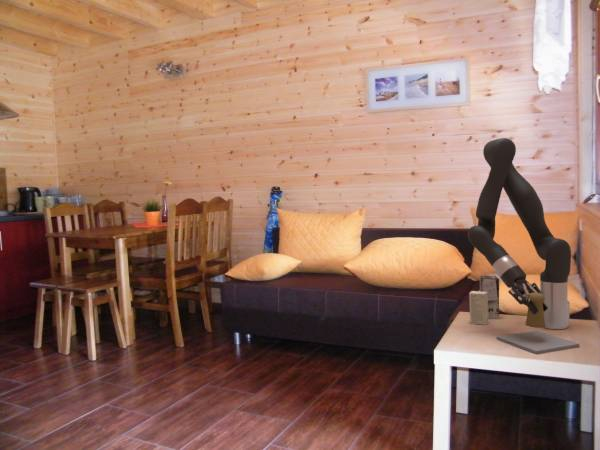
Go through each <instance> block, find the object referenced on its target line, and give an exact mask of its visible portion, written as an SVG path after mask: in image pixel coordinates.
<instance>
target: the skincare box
mask: <svg viewBox="0 0 600 450" xmlns="http://www.w3.org/2000/svg"><path fill="white" fill-rule="evenodd" d="M468 297H469V324H472V325H473V324H474V325H485V326H486V325H487V324H488V323H489V318H488V292H481V291H480V290H477V291H476V290H471V291H470V292H469V293H468Z"/></svg>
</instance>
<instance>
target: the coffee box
mask: <svg viewBox="0 0 600 450" xmlns="http://www.w3.org/2000/svg"><path fill="white" fill-rule="evenodd" d="M479 291H481V292H488V319H494V320H497V319H500V279H499V277H498V276H496V275H479Z"/></svg>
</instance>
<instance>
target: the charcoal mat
mask: <svg viewBox="0 0 600 450" xmlns="http://www.w3.org/2000/svg"><path fill="white" fill-rule="evenodd" d="M495 339H496V340H497V341H500V342H501V343H505V344H508V345H510V346H513V347H516V348H518V349H521V350H524V351H527V352H529V353H531V354H534V355H541V354H546V353H551V352H557V351H563V350H569V349H574V348H580V343H577V342H575V341H572V340H569V339H565V338H562V337H560V336H555V335H553V334H549V333H547V332H543V331H540V330H536V329H535V330H531V331H523V332H517V333H511V334H503V335H497V336H496V337H495Z"/></svg>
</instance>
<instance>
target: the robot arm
mask: <svg viewBox="0 0 600 450" xmlns="http://www.w3.org/2000/svg"><path fill="white" fill-rule="evenodd" d="M516 152H517V147H516V145H515V143H514V141H513V140H512V139H510V138H507V137H501V138H496V139H493V140H490V141H488V142H487V143H486V144H484V146H483V150H482V153H483V157H484V159H485V161H486V164H488V165H489V166H488V167H490V171H489V174H488V177H487V180H486V182H485V183H484V185H483V188H482V189H481V192H480V194H479V197H478V200H477V201H478V202H477V204H476V205H477V206H476V211H475V217H476V218H477V221H478V222H477V225H473V226H471V227H470V228H469V229H468V232H467V238H468V241H469V242H470V243H471V245H472V246H473V247H474V248H475V249H476V250H477V251H478V252H479V253H480V254H481V255H483V257H484V258H485V259H486V260H487V262H488V263H489V264H490V266H491V267H492V269H494V271H495V273H496V274H497V275H498V276H497V277H498V278H500V280H501V281H502V282H503V283H504V285H505V287H507V288H509V290H508V291H507V292H508V294H510V295H511V297H512V298H513V299H514V300H515V301H516V302H517V303H518V304H519V305H524V306H526V307H527V309H528V308H529V310H530V311H531V312H532V313H533V314H536V313H537V312H538V311H539V310H538V308H537V307H536V306H535V305H534V303H533V302H531V299H530V298H529V294H530V293H541V294H543V295H544V297H545V300H544V302H543V311H544V320H545V327H543V329H544V328H545V329H550V330H566V329H567V328H569V327H570V301H569V300H568V296H569V295H568V292H569V291H568V289H569V288H568V284H569V283H568V279H569V276H570V274H571V266H572V265H571V263H572V249H571V246H570V244H569V242H567V241H566V240H565V239H562V238H558V237H555V236H554V235H553V234H552V232H551V231H550V228H549V227H548V225H547V223H546V221H545V212H544V211H545V210H544V206H543V203H542V201H541V198H540V197H539V195H538V193H537V191H536V190H535V188H534V186H532V184H531V183H530V182H529V181H528V180H527V179H526V178H525V177H523V175H521V174H520V173H519V171H518V170H517V168H516V167H515V165H514V163H513V161H514V159H515V156H516ZM503 190H504V191H505V194H506V196H507V197H508V200H509V201H510V203H511V205H512V207H513V209H514V211H515V212H516V215H517V216H518V217H519V219H520V221H521V223H522V225H523V226H524V228H525V230H526V231H527V233H528V235H529V237H530V240H531V242H532V245H533V247H534V249H535V251H536V254H537V255H538V257H539V258H540V259H541V260H543V261H544V262H545V268H544V269H543V270H544V271H541V272H540V274H539V286H538V284H537V283H536V282H533V283H530V282H529V281H528V280H527V279H526V278H527V274H526V272H525V271H524V270H523V269H522V268H521V266H520V265H519V264H518V263H517V261H516V260H515V259H514V258H513V257H512V256H511V255H510V254H509V253H508V251H507V250H506V249H505V248H504V247H503V246H502V244H499V243H497V242H496V241H495V240H494V239H495V234H496V216H497V213H498V208H499V203H500V200H501V199H500V198H501V195H502V191H503Z"/></svg>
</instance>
